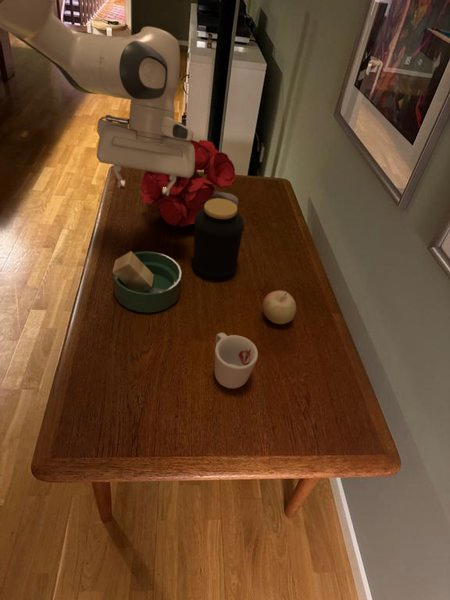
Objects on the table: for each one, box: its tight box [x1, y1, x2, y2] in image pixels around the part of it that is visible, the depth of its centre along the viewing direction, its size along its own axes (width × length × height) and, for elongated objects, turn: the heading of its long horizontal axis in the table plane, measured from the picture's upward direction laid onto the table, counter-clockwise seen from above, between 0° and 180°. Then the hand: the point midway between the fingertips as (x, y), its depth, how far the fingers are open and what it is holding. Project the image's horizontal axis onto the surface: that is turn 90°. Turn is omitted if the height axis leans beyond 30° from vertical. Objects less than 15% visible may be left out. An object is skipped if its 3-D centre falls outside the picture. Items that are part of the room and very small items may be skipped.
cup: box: [214, 332, 259, 389], centre depth 77 cm, size 11×8×8 cm
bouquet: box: [140, 139, 239, 228], centre depth 113 cm, size 22×24×30 cm
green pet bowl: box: [112, 251, 183, 314], centre depth 91 cm, size 15×15×6 cm
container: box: [191, 198, 245, 279], centre depth 97 cm, size 12×12×18 cm
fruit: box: [261, 289, 297, 325], centre depth 90 cm, size 8×7×8 cm
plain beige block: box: [111, 250, 154, 293], centre depth 90 cm, size 4×4×8 cm
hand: (143, 191), depth 87 cm, fingers open, 8 cm apart
